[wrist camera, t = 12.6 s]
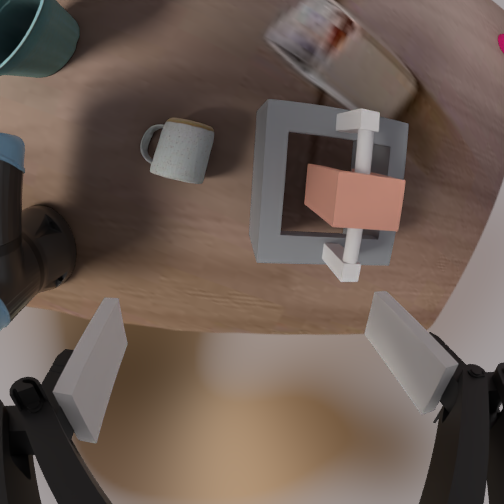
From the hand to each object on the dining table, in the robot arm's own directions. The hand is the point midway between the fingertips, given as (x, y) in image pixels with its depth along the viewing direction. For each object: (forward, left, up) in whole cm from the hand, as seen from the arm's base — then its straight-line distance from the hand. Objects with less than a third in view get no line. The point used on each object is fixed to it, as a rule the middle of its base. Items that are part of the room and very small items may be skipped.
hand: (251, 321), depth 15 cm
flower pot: (-33, +28, -33) cm, 55 cm away
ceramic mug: (-9, +8, -33) cm, 35 cm away
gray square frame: (+12, +4, -33) cm, 35 cm away
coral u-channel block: (+12, +4, -23) cm, 26 cm away
